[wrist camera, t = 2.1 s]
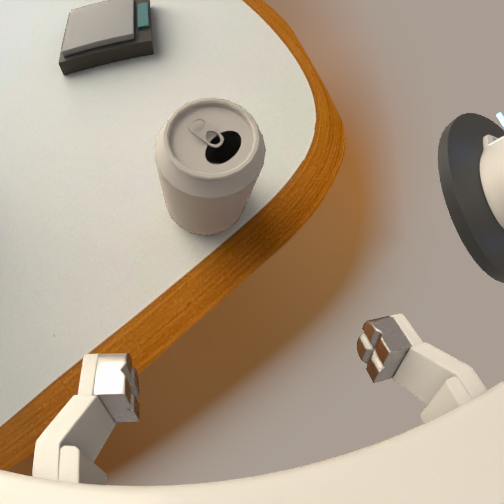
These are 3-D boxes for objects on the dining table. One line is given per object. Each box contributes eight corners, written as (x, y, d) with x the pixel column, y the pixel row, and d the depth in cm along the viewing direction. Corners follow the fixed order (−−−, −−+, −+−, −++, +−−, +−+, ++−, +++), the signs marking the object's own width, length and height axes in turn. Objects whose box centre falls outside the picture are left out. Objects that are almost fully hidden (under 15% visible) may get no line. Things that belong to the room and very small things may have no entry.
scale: (149, 6, 35) (149, -12, 32) (153, 54, 33) (151, 34, 30) (72, 23, 33) (68, 7, 29) (63, 75, 31) (56, 58, 28)
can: (212, 253, 30) (222, 212, 18) (150, 206, 30) (127, 142, 18) (259, 194, 32) (292, 129, 20) (199, 151, 32) (204, 72, 20)
